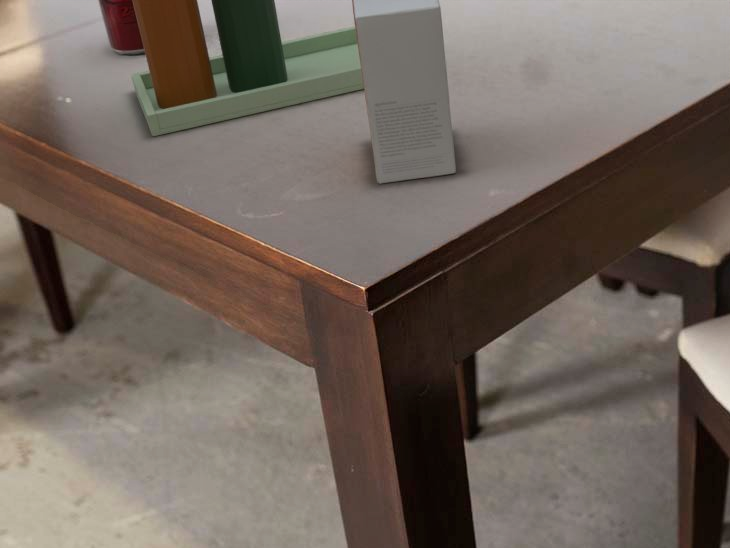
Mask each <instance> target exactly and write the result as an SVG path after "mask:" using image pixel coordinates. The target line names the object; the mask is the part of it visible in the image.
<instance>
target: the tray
mask: <svg viewBox="0 0 730 548" xmlns="http://www.w3.org/2000/svg"><path fill="white" fill-rule="evenodd" d="M281 42H282V48H283V54H284V60H285V65H286V71H287V77H288V80H287V82H284V83H279V84H275V85H270V86H266V87H261V88H257V89H252V90H248V91H243V92H239V93H234V92H232V91H231V90H230V88H229V84H228V80H227V75H226V70H225V65H224V60H223V55H222V54H220V55H215V56H209V59H210V64H211V69H212V74H213V78H214V83H215V88H216V93H217V95H216V97H215V98H212V99H207V100H203V101H198V102H194V103H189V104H185V105H180V106H176V107H171V108H167V109H162V108H159V106H158V104H157V100H156V96H155V92H154V87H153V83H152V79H151V75H150V71H149V70H145V71H141V72H136V73H131V74H130V76H131V80H132V85H133V87H134V91H135V95H136V97H137V98H136V99H137V100H138V103H139V105H140V109H141V111H142V113H143V115H144V118H145V121H146V124H147V127H148V128H149V131H150V134H151V136H152V137H157V136H161V135H166V134H170V133H175V132H180V131H183V130H188V129H192V128H193V129H194V128H197V127H202V126H205V125H210V124H214V123H218V122H224V121H228V120H232V119H236V118H241V117H245V116H250V115H254V114H260V113H263V112H268V111H272V110H277V109H281V108H285V107H290V106H295V105H298V104H303V103H307V102H308V103H309V102H312V101H317V100H321V99H325V98H330V97H334V96H339V95H343V94H347V93H352V92H357V91H360V90H364V85H363V78H362V71H361V64H360V57H359V50H358V43H357V37H356V29H355V25H354V26H350V27H346V28H341V29H336V30H332V31H327V32H323V33H318V34H317V33H316V34H312V35H308V36H304V37H299V38H294V39H289V40H286V41H285V40H284V41H281Z"/></svg>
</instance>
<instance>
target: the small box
mask: <svg viewBox="0 0 730 548" xmlns="http://www.w3.org/2000/svg"><path fill="white" fill-rule="evenodd" d="M351 4H352V14H353V20H354V26H355V29H356V37H357V43H358V50H359V57H360V64H361V71H362V78H363V85H364V89H363V92H364V99H365V106H366V114H367V121H368V128H369V134H370V141H371V147H372V154H373V161H374V170H375V171H374V172H375V177H376V178H375V179H376V182H377V183H378V184H380V185H381V184H386V183H387V184H388V183H394V182H400V181H408V180H417V179H423V178H431V177H432V178H433V177H440V176H445V175H452V174H455V173H457V172H456V171H457V167H456V158H455V148H454V147H455V146H454V137H453V127H452V126H453V125H452V116H451V115H452V114H451V107H450V105H451V104H450V91H449V82H448V72H447V71H448V70H447V61H446V51H445V39H444V30H443V18H442V17H443V16H442V9H441V8H442V7H441V4H440V0H351Z"/></svg>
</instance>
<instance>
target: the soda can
mask: <svg viewBox="0 0 730 548" xmlns="http://www.w3.org/2000/svg"><path fill="white" fill-rule="evenodd" d="M97 1H98V2H97V3H98V5H99V7H100V8H99V9H100V12H101V17H102V20H103V23H104V24H103V25H104V28H105V32H106V36H107V39H108V45H109V46H110V48H111V49H112V50H113V51H115V52H116V53H118V54H121V55H129V56H131V55H132V56H133V55H141V54H145V51H144V46H143V42H142V38H141V34H140V30H139V26H138V22H137V18H136V14H135V9H134V5H133V1H132V0H97Z"/></svg>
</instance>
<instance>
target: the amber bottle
mask: <svg viewBox="0 0 730 548" xmlns="http://www.w3.org/2000/svg"><path fill="white" fill-rule="evenodd" d="M132 1H133V5H134V9H135V14H136V18H137V22H138V26H139V30H140V34H141V38H142V42H143V46H144V51H145V53H144V55H145V58H146V62H147V68H148V71H150V75H151V79H152V83H153V87H154V92H155V96H156V100H157V104H158V106H159V108H162V109H167V108H171V107H176V106H180V105H185V104H189V103H194V102H198V101H203V100H207V99H212V98H215V97H216V95H217V93H216V88H215V83H214V78H213V74H212V69H211V64H210V59H209V58H210V55H209V50H208V46H207V41H206V35H205V31H204V26H203V22H202V18H201V12H200V7H199V3H198V0H132Z"/></svg>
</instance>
